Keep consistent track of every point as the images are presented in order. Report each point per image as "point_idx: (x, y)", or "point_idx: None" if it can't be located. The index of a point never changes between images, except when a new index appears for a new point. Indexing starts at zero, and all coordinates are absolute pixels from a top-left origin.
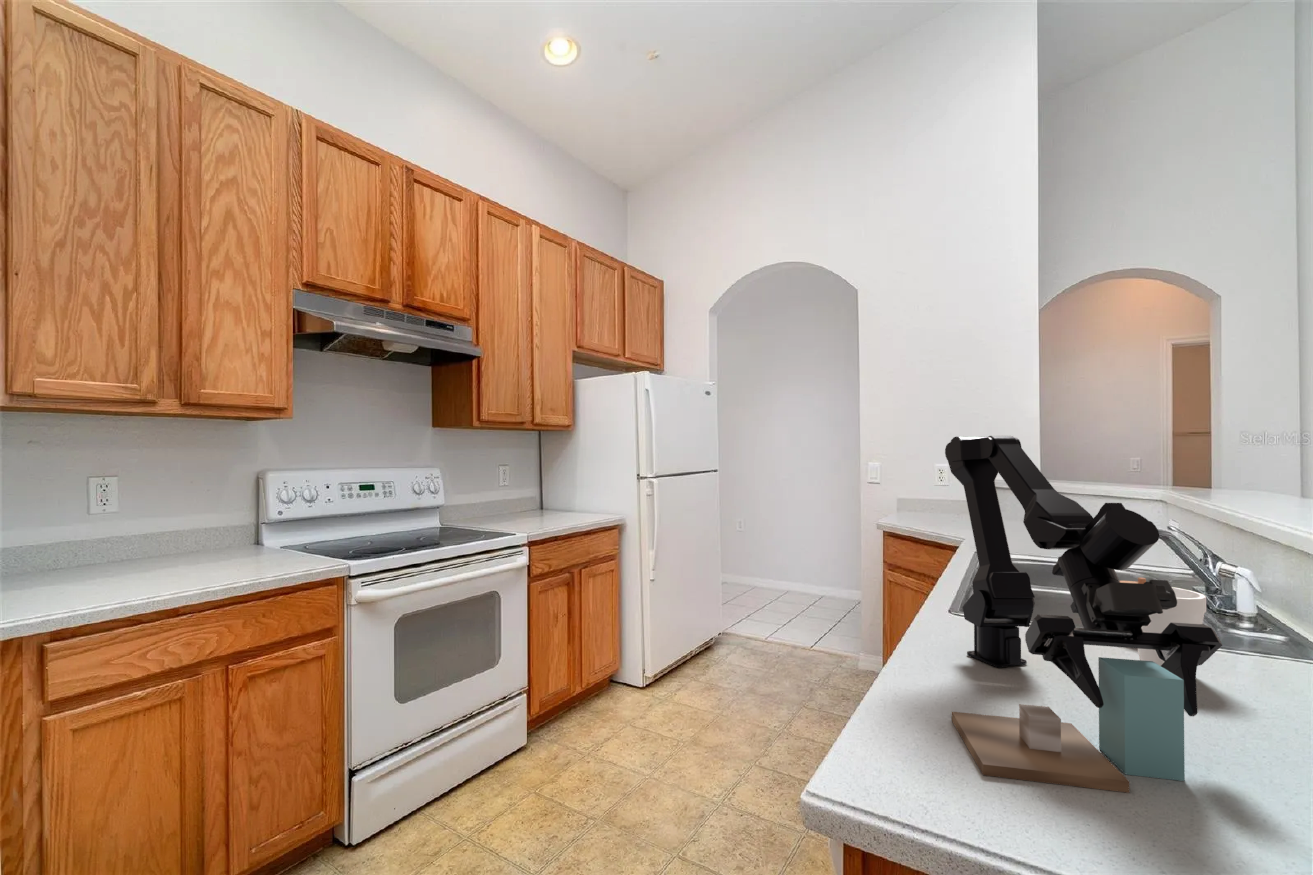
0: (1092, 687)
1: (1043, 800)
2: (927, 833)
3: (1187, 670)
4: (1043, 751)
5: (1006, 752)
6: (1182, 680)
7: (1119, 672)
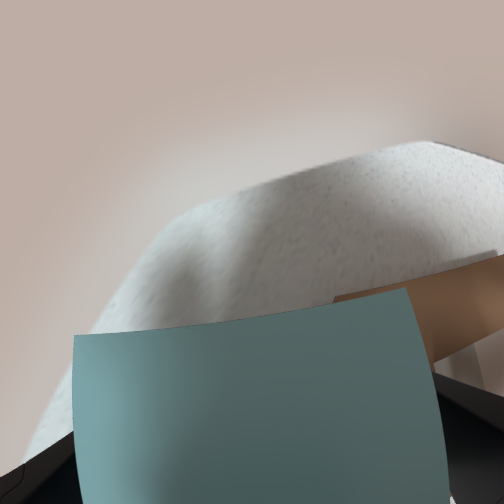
0: (461, 382)
1: (438, 232)
2: (485, 155)
3: (8, 495)
4: (458, 347)
5: (497, 308)
6: (80, 338)
7: (421, 346)
